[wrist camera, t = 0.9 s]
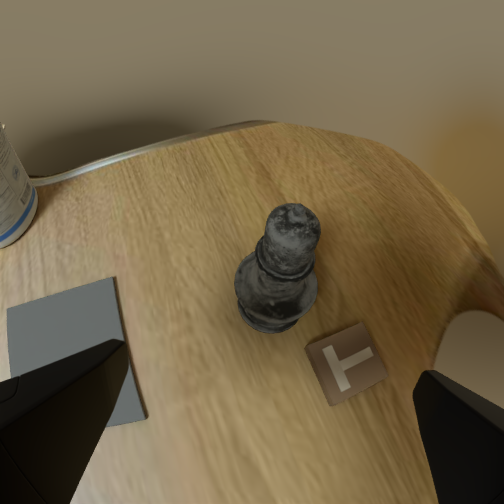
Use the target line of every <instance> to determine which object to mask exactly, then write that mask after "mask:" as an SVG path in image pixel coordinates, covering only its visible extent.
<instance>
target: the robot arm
mask: <svg viewBox="0 0 504 504" xmlns="http://www.w3.org/2000/svg"><path fill="white" fill-rule="evenodd" d="M128 369H129V360H128V350H127V344H126V342H125V341H123V340H119V339H114V338H113V339H110V340H107V341H105V342H102V343H100V344H98V345H95V346H93V347H90V348H88V349H85V350H83V351H80V352H78V353H75V354H73V355H70V356H68V357H65V358H63V359H60V360H58V361H55V362H52V363H50V364H47V365H45V366H42V367H40V368H37V369H34V370H32V371H29V372H27V373H24V374H21V375H20V376H16V377H13V378H11V379H8V380H5V381H2V382H0V504H70V502H71V500H72V498H73V495H74V493H75V491H76V489H77V486H78V484H79V482H80V480H81V478H82V475H83V473H84V471H85V469H86V467H87V465H88V462H89V460H90V458H91V456H92V454H93V452H94V450H95V448H96V446H97V444H98V442H99V439H100V437H101V435H102V433H103V431H104V429H105V427H106V425H107V423H108V421H109V419H110V417H111V415H112V413H113V411H114V408H115V405H116V403H117V400H118V397H119V394H120V392H121V389H122V386H123V383H124V381H125V378H126V375H127V373H128ZM413 401H414V406H415V411H416V415H417V420H418V425H419V430H420V435H421V438H422V442H423V445H424V449H425V452H426V456H427V459H428V463H429V466H430V470H431V474H432V478H433V482H434V486H435V490H436V494H437V498H438V502H439V504H504V409H502V408H501V407H499V406H497V405H496V404H494V403H492V402H490V401H488V400H487V399H485V398H483V397H481V396H480V395H478V394H476V393H474V392H472V391H471V390H469V389H467V388H465V387H463V386H462V385H460V384H458V383H456V382H455V381H453V380H451V379H449V378H448V377H446V376H444V375H443V374H441V373H439V372H437V371H435V370H426V371H424V372H423V373H422V374H421V376H420V378H419V380H418V382H417V384H416V386H415V388H414V390H413Z"/></svg>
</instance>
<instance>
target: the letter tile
mask: <svg viewBox="0 0 504 504" xmlns="http://www.w3.org/2000/svg"><path fill="white" fill-rule="evenodd" d="M304 349H305V351H306V353H307V356H308V358H309V360H310V362H311V365H312V367H313V369H314V372H315V374H316V376H317V378H318V381H319V383H320V385H321V387H322V390H323V392H324V394H325V397H326V399H327V401H328V403H329V406H334V405H336V404H338V403H340V402H342V401H344V400H346V399H348V398H350V397H352V396H354V395H356V394H358V393H360V392H362V391H363V390H365V389H367V388H369V387H371V386H373V385H374V384H376V383H378V382H380V381H381V380H383V379H385V378H387V377H388V374H387V371H386V369H385V367H384V365H383V363H382V361H381V358H380V356H379V354H378V352H377V350H376V348H375V346H374V344H373V342H372V339H371V337H370V335H369V333H368V331H367V329H366V327H365V325H364V323H363V321H362V322H360V323H358V324H356V325H354V326H351V327H349V328H347V329H345V330H343V331H340V332H338V333H336V334H333V335H331V336H329V337H327V338H324V339H322V340H319V341H317V342H315V343H312V344H310V345H308V346H307V347H305V348H304Z"/></svg>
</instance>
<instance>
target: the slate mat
mask: <svg viewBox="0 0 504 504" xmlns="http://www.w3.org/2000/svg"><path fill="white" fill-rule="evenodd" d="M7 337H8V352H9V363H10V372H11V378H13V377H16V376H20V375H21V374H24V373H27V372H29V371H32V370H34V369H37V368H40V367H42V366H45V365H47V364H50V363H52V362H55V361H58V360H60V359H63V358H65V357H68V356H70V355H73V354H75V353H78V352H80V351H83V350H85V349H88V348H90V347H93V346H95V345H98V344H100V343H102V342H105V341H107V340H110V339H113V338H114V339H119V340H123V341H125V337H124V333H123V328H122V323H121V318H120V313H119V307H118V302H117V296H116V290H115V284H114V279H113V277H110V278H106V279H103V280H100V281H96V282H93V283H90V284H86V285H83V286H80V287H76V288H73V289H70V290H66V291H63V292H60V293H56V294H53V295H50V296H47V297H43V298H40V299H37V300H34V301H30V302H27V303H24V304H21V305H18V306H14V307H11V308H8V309H7ZM128 360H129V369H128V373H127V375H126V378H125V381H124V383H123V386H122V389H121V392H120V394H119V397H118V400H117V403H116V405H115V408H114V411H113V413H112V415H111V417H110V419H109V421H108V423H107V425H106V427H110V426H115V425H121V424H126V423H131V422H136V421H140V420H145V419H146V416H145V413H144V410H143V406H142V403H141V400H140V396H139V393H138V389H137V386H136V382H135V378H134V375H133V371H132V367H131V363H130V359H129V355H128Z"/></svg>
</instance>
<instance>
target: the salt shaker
mask: <svg viewBox="0 0 504 504" xmlns="http://www.w3.org/2000/svg"><path fill="white" fill-rule="evenodd" d="M320 234H321V228H320V223H319V220H318V218H317V217H316V216H315V214H314V213H313V212H312V211H311V210H310V209H308V208H307V207H305V206H303V205H302V204H295V203H288V204H284V205H280V206H278V207H276V208H275V209H274V210H273V211H272V212H271V213H270V215H269V217H268V219H267V222H266V227H265V233H264V236H262V237H261V239H260V240H259V241H258V243H257V245H256V248H255V251H254V252H252V253H251V254H249V255H248V256H247V257H245V259H244V260H243V261H242V262H241V263H240V265H239V267H238V269H237V271H236V274H235V282H234V286H235V292H236V296H237V298H238V308H239V312H240V314H241V316H242V318H243V319H244V320H245V321H246V323H247V324H248V325H250V326H251V327H252V328H254V329H255V330H258V331H261V332H264V333H279V332H283V331H285V330H287V329H289V328H291V327H292V326H293V325H294V324H295V323H296V322H297V321H298V319H299V318H300V317H302V316H303V315H304V314H305V313H307V312H308V311H309V310H310V308H311V307H312V305H313V303H314V302H315V299H316V296H317V292H318V283H317V278H316V275H315V272H314V270H313V268H314V264H315V253H314V250H315V248H316V245H317V243H318V241H319V238H320Z"/></svg>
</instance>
